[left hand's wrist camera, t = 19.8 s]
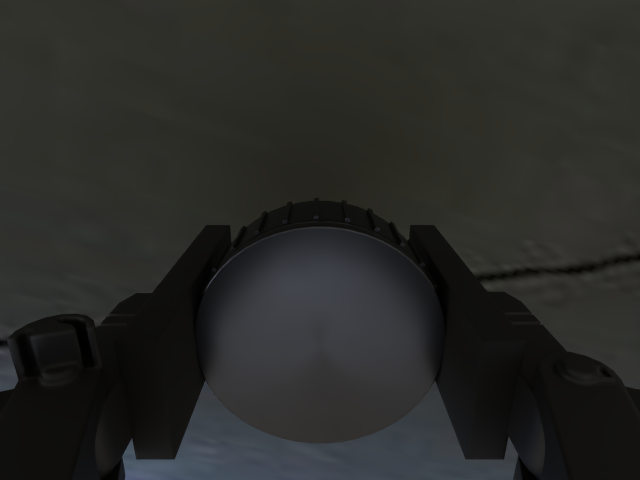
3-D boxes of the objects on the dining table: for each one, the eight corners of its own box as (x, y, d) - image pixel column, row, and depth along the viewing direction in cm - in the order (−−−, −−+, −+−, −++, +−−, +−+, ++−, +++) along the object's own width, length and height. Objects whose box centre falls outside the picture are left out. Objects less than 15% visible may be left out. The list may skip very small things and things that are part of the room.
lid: (473, 293, 12) (504, 337, 10) (328, 422, 13) (329, 482, 11) (310, 147, 10) (308, 163, 8) (169, 309, 12) (139, 355, 10)
